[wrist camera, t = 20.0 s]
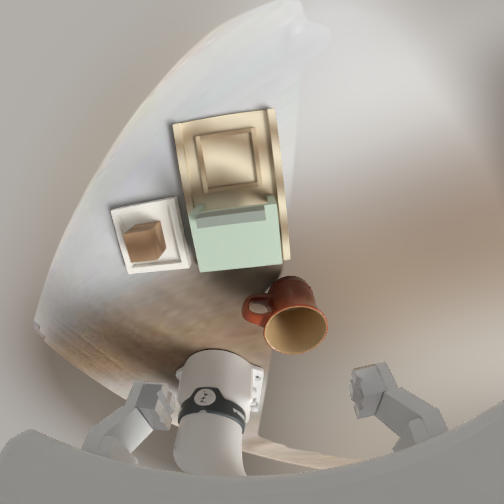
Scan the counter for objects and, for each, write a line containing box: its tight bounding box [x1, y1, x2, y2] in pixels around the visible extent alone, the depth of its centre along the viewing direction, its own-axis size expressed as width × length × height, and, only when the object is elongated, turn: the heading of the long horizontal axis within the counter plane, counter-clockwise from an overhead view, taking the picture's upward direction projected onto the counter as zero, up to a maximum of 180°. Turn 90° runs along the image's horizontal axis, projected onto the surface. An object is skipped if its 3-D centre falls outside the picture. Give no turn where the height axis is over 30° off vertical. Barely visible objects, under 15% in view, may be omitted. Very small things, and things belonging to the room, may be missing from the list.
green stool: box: [188, 195, 282, 272], centre depth 36 cm, size 8×11×8 cm
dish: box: [111, 196, 191, 274], centre depth 40 cm, size 11×11×2 cm
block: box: [123, 221, 167, 263], centre depth 38 cm, size 4×4×4 cm
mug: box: [242, 276, 328, 354], centre depth 40 cm, size 12×9×10 cm
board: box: [173, 108, 290, 266], centre depth 38 cm, size 22×14×1 cm, turn 7°
